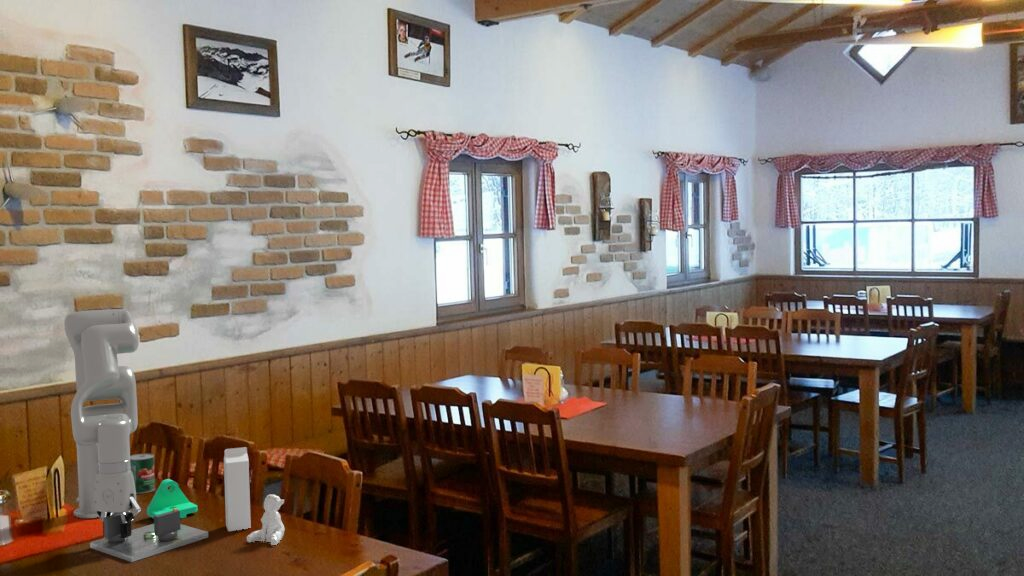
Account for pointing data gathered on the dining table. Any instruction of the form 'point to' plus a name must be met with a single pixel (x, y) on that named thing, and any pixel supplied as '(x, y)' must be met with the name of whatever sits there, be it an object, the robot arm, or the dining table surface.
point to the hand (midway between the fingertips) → (117, 535)
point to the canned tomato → (143, 472)
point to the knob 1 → (113, 528)
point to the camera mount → (170, 500)
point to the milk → (237, 489)
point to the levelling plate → (147, 543)
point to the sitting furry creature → (270, 522)
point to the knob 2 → (167, 525)
